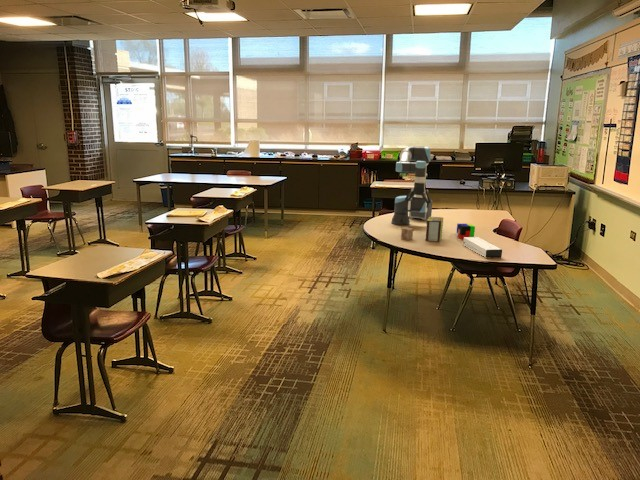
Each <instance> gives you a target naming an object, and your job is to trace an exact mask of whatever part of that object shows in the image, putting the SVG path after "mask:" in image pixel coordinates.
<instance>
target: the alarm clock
mask: <svg viewBox="0 0 640 480" xmlns="http://www.w3.org/2000/svg"><path fill="white" fill-rule="evenodd" d="M431 201H432V202H431V203H429V208H428V209H427V212H420V213H419V212H408V217H409V220H413V219H421V220H422V221H425V222H427V220H428V218H429V217H432V211H433V200H432V199H431Z"/></svg>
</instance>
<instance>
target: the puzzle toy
mask: <svg viewBox="0 0 640 480" xmlns="http://www.w3.org/2000/svg"><path fill="white" fill-rule="evenodd" d="M475 231H476V226H475V225H473V224H472V223H457V224H456V235H455V236H456V238H458V239H460V240H463V239H464V237H475Z"/></svg>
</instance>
